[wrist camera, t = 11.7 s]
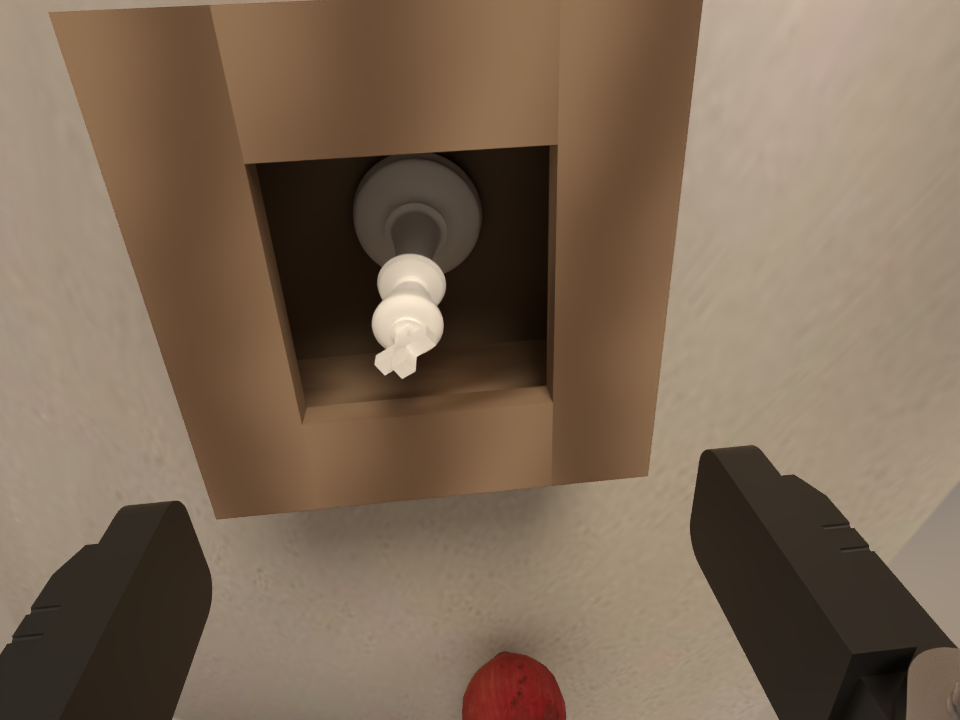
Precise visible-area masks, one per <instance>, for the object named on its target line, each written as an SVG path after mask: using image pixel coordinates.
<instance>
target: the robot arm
mask: <svg viewBox="0 0 960 720" xmlns="http://www.w3.org/2000/svg"><path fill="white" fill-rule="evenodd" d="M690 535H691V542H692V546H693V550H694V554H695V556H696V559H697V561H698V564H699V566H700V568H701V569H702V571H703V573H704V575H705V577H706V579H707V581H708V583H709V585H710V587H711V589H712V591H713V593H714V595H715V597H716V598H717V600H718V602H719V604H720V606H721V608H722V610H723V612H724V614H725V616H726V618H727V620H728V622H729V624H730V626H731V627H732V629H733V631H734V633H735V635H736V637H737V639H738V641H739V643H740V645H741V647H742V649H743V651H744V653H745V655H746V656H747V658H748V660H749V662H750V664H751V666H752V668H753V670H754V672H755V674H756V676H757V678H758V680H759V682H760V684H761V685H762V687H763V689H764V691H765V693H766V695H767V697H768V699H769V701H770V703H771V705H772V707H773V709H774V711H775V712H776V714H777V716H778V718H779V720H960V649H959V648H957V646H956V645H955V644H954V643H953V642H952V641H951V640H950V639H949V638H948V637H947V636H946V634H945V633H944V632H943V631H942V630H941V629H940V628H939V626H938V625H937V624H936V623H935V622H934V620H933V619H932V618H931V617H930V616H929V615H928V614H927V612H926V611H925V610H924V609H923V608H922V606H920V604H919V603H918V602H917V601H916V599H915V598H914V597H913V596H912V595H911V594H910V593H909V591H908V590H907V589H906V588H905V587H904V585H903V584H902V583H901V582H900V581H899V580H898V578H897V577H896V576H895V575H894V574H893V573H892V571H891V570H890V569H889V568H888V567H887V566H886V565H885V563H884V562H883V561H882V560H881V559H880V558H879V556H878V555H877V554H876V553H875V552H874V551H872V552H871V551H870V549H869V545H868V544H867V542H866V541H865V540H864V539H863V538H862V537H861V535H860V534H859V533H858V532H857V531H856V530H855V528H851V527H850V525H849V521H848V520H847V519H846V518H845V517H844V516H843V514H842V513H841V512H840V511H839V510H838V509H837V507H836V506H835V505H834V504H833V503H832V502H831V500H830V499H829V498H828V497H827V496H826V495H824V494H823V493H821V492H820V491H818V490H817V489H815V488H814V487H812V486H811V485H809V484H808V483H806V482H805V481H803V480H802V479H800V478H798V477H797V476H795V475H785V476H781V475H780V473H779V472H778V471H777V470H776V468H775V467H774V466H773V465H772V463H771V462H770V461H769V460H768V458H767V457H766V456H765V455H764V453H763V452H762V451H761V450H760V449H759V448H758V447H756V446H754V445H749V446H738V447H728V448H718V449H708V450H705V451H704V452H703V453H702V454H701V457H700V461H699V467H698V473H697V480H696V487H695V493H694V500H693V506H692V513H691V519H690ZM211 601H212V580H211V574H210V570H209V567H208V565H207V562H206V559H205V557H204V554H203V551H202V549H201V546H200V543H199V541H198V538H197V536H196V533H195V530H194V528H193V525H192V522H191V520H190V517H189V514H188V512H187V509H186V507H185V506H184V505H183V504H182V503H181V502H180V501H168V502H158V503H148V504H138V505H128V506H124V507H123V508H121V509H120V510H119V511H118V513H117V514H116V515H115V517H114V519H113V520H112V522H111V524H110V525H109V527H108V529H107V530H106V532H105V533H104V535H103V537H102V538H101V540H100V542H99V543H98V544H92V545H85V546H84V547H83V548H82V549H81V550H80V551H79V552H77V553H76V554H75V555H74V556H73V557H72V558H71V559H70V560H69V561H67V562H66V563H65V564H64V565H63V566H62V567H61V568H60V569H58V570H57V571H56V572H55V573H54V574H53V575H52V576H51V578H50V579H49V581H48V582H47V584H46V586H45V587H44V589H43V590H42V592H41V593H40V595H39V596H38V598H37V599H36V601H35V602H34V604H33V605H32V607H31V614H30V615H26V616H25V618H24V619H23V621H22V622H21V624H20V625H19V627H18V628H17V630H16V631H15V633H14V635H13V636H12V637H13V640H12V643H10V644H7V645H6V647H5V648H4V650H3V651H2V653H1V654H0V720H172V718H173V715H174V712H175V709H176V706H177V703H178V701H179V698H180V695H181V692H182V689H183V686H184V683H185V681H186V678H187V675H188V672H189V669H190V666H191V663H192V661H193V658H194V655H195V652H196V649H197V646H198V643H199V641H200V638H201V635H202V632H203V629H204V626H205V623H206V621H207V618H208V615H209V611H210V607H211Z"/></svg>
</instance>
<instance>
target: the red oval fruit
mask: <svg viewBox="0 0 960 720" xmlns="http://www.w3.org/2000/svg"><path fill="white" fill-rule="evenodd" d="M462 718H463V720H566V710H565V702H564V699H563V696H562V694H561V691H560V689H559V686H558V684H557V682H556V679H555V677H554V675H553V674H552V673H551V672H550V671H549V670H548V669H547V667H546V666H544V665H543V664H541V663H540V662H538V661H536V660H535V659H533V658H531V657H529V656H527V655H522V654H515V653H509V652H502V653H499V654H497V655H496V656H495V657H494V658H493V659H492V660H490V661H489V662H488V663H486V664H485V665H484V666H482V667H481V668H480V669H479V670H478V671H477V672H476V673H475V674H474V676H473V678H472V680H471V681H470V683H469V685H468V687H467V690H466V692H465V694H464V697H463V707H462Z"/></svg>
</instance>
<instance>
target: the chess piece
mask: <svg viewBox="0 0 960 720" xmlns="http://www.w3.org/2000/svg"><path fill="white" fill-rule="evenodd" d="M353 220H354V227H355V231H356V235H357V237H358V240H359V242H360V244H361V246H362V247H363V249H364V250H365V252H366V253H367V254H368V255H369V256H370V258H371V259H372V260H374V261H375V262H376V263H377V264H378V265H380V266H381V267H382V268H381V270H380V272H379V275H378V279H377V287H378V291H379V294H380V296H381V298H382V300H383V301H382V302H381V303H380V304H379V305H378V307H377V308H376V310H375V312H374V314H373V317H372V330H373V333H374V336H375V338H376V339H377V341H378V342H379V343H380V344H381V345H382V346H383V347H384V348H385V349H386V350H384V351H382V352H381V353H379V354H377V355H376V358H375V366H376V367H377V368H378V369H379V370H380V371H381V372H382V373H383V374H384V375H387V374H388V373H390V372H392V371H393V370H394V371H395V372H396V373H397V374H398V375H399V376H400V377H401V378H402V379H403V378H405V377H407V376H408V375H410V374H412V373H414V372H415V371H416V360H417V357H418V356H419V355H421V354H423V353H426V352H427V351H429V350H431V349H432V348H433V347H435V346H436V344H437V343H438V342H439V340H440V339H441V337H442V334H443V329H444V322H443V317H442V314H441V312H440V310H439V308H438V307H437V306H438V304H439V303H440V302H441V300H442V299H443V297H444V294H445V290H446V280H445V276H444V274H445V273H447V272H449V271H451V270H453V269H454V268H456V267H457V266H458V265H460V264H461V263H462V262H463V261H464V260H465V259H466V258H467V257H468V256H469V254H470V253H471V251H472V250H473V248H474V246H475V244H476V242H477V239H478V236H479V232H480V229H481V223H482V206H481V201H480V197H479V194H478V192H477V190H476V188H475V186H474V184H473V182H472V181H471V179H470V178H469V177H468V175H467V174H466V173H465V172H464V171H463V170H462V169H461V168H460V167H458V166H457V165H456V164H454V163H453V162H451V161H450V160H448V159H446V158H444V157H442V156H439V155H436V154H433V153H414V154H397V155H391V156H389V157H387V158H385V159H383V160H381V161H380V162H378V163H377V164H375V165H374V166H373V167H372V168H371V169H370V170H369V171H368V172H367V173H366V174H365V176H364V177H363V178H362V180H361V182H360V184H359V186H358V188H357V190H356V193H355V197H354V202H353Z"/></svg>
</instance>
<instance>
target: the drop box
mask: <svg viewBox="0 0 960 720" xmlns="http://www.w3.org/2000/svg"><path fill="white" fill-rule="evenodd" d="M702 3H703V0H315V1H293V2H270V3H248V4H225V5H203V6H180V7H158V8H135V9H113V10H90V11H68V12H49V15H50V18H51V21H52V24H53V27H54V30H55V33H56V36H57V39H58V43H59V46H60V49H61V52H62V55H63V58H64V61H65V64H66V67H67V70H68V73H69V76H70V79H71V82H72V85H73V88H74V91H75V94H76V97H77V100H78V103H79V106H80V109H81V112H82V115H83V118H84V121H85V124H86V127H87V130H88V133H89V136H90V139H91V142H92V145H93V148H94V151H95V154H96V157H97V160H98V163H99V166H100V169H101V172H102V175H103V178H104V181H105V184H106V187H107V190H108V193H109V196H110V200H111V203H112V206H113V209H114V212H115V215H116V218H117V221H118V224H119V227H120V230H121V233H122V236H123V239H124V242H125V245H126V248H127V251H128V254H129V257H130V260H131V263H132V266H133V269H134V272H135V275H136V278H137V281H138V284H139V287H140V290H141V293H142V296H143V299H144V302H145V305H146V308H147V311H148V314H149V317H150V320H151V323H152V326H153V329H154V332H155V335H156V338H157V341H158V344H159V347H160V350H161V354H162V357H163V360H164V363H165V366H166V369H167V372H168V375H169V378H170V381H171V384H172V387H173V390H174V393H175V396H176V399H177V402H178V405H179V408H180V411H181V414H182V417H183V420H184V423H185V426H186V429H187V432H188V435H189V438H190V441H191V444H192V447H193V450H194V453H195V456H196V459H197V462H198V465H199V468H200V471H201V474H202V477H203V480H204V483H205V486H206V489H207V492H208V495H209V498H210V501H211V504H212V507H213V511H214V514H215V517H216V519H226V518H236V517H246V516H256V515H266V514H276V513H286V512H296V511H306V510H316V509H326V508H336V507H345V506H355V505H365V504H375V503H385V502H395V501H405V500H415V499H425V498H435V497H445V496H455V495H465V494H475V493H485V492H495V491H505V490H515V489H525V488H535V487H544V486H554V485H564V484H574V483H584V482H594V481H604V480H614V479H624V478H634V477H644V476H648V471H649V462H650V453H651V445H652V436H653V427H654V419H655V410H656V401H657V393H658V384H659V375H660V367H661V358H662V349H663V341H664V332H665V324H666V315H667V306H668V298H669V289H670V280H671V272H672V263H673V254H674V246H675V237H676V228H677V220H678V211H679V202H680V194H681V185H682V176H683V168H684V159H685V150H686V142H687V133H688V125H689V116H690V107H691V99H692V90H693V81H694V73H695V64H696V55H697V47H698V38H699V29H700V21H701V12H702ZM414 153H433V154H436V155H439V156H442V157H444V158H446V159H448V160H450V161H451V162H453V163H454V164H456V165H457V166H458V167H460V168H461V169H462V170H463V171H464V172H465V173H466V174H467V175H468V177H469V178H470V179H471V181H472V182H473V184H474V186H475V188H476V190H477V192H478V194H479V197H480V201H481V206H482V223H481V229H480V232H479V236H478V239H477V242H476V244H475V246H474V248H473V250H472V251H471V253H470V254H469V256H468V257H467V258H466V259H465V260H464V261H463V262H462V263H461V264H460V265H458V266H457V267H456V268H454V269H453V270H451V271H449V272H447V273H445V274H444V276H445V280H446V290H445V294H444V297H443V299H442V300H441V302H440V303H439V304H438V306H437V307H438V308H439V310H440V312H441V314H442V317H443V322H444V329H443V334H442V337H441V339H440V340H439V342H438V343H437V344H436V346H435V347H433V348H432V349H431V350H429V351H427V352H426V353H423V354H421V355H419V356H418V357H417V360H416V371H415V372H414V373H412V374H410V375H408V376H407V377H405V378H403V379H402V378H401V377H400V376H399V375H398V374H397V373H396V372H395V371H394V370H393V371H392V372H390V373H388V374H387V375H384V374H383V373H382V372H381V371H380V370H379V369H378V368H377V367H376V366H375V358H376V355H377V354H379V353H381V352H382V351H384V350H386V349H385V348H384V347H383V346H382V345H381V344H380V343H379V342H378V341H377V339H376V338H375V336H374V333H373V330H372V317H373V314H374V312H375V310H376V308H377V307H378V305H379V304H380V303H381V302H382V301H383V300H382V298H381V296H380V294H379V291H378V287H377V279H378V275H379V272H380V270H381V268H382V267H381V266H380V265H378V264H377V263H376V262H375V261H374V260H372V259H371V258H370V256H369V255H368V254H367V253H366V252H365V250H364V249H363V247H362V246H361V244H360V242H359V240H358V237H357V235H356V231H355V227H354V220H353V202H354V197H355V193H356V190H357V188H358V186H359V184H360V182H361V180H362V178H363V177H364V176H365V174H366V173H367V172H368V171H369V170H370V169H371V168H372V167H373V166H374V165H375V164H377V163H378V162H380V161H381V160H383V159H385V158H387V157H389V156H391V155H397V154H414Z"/></svg>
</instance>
